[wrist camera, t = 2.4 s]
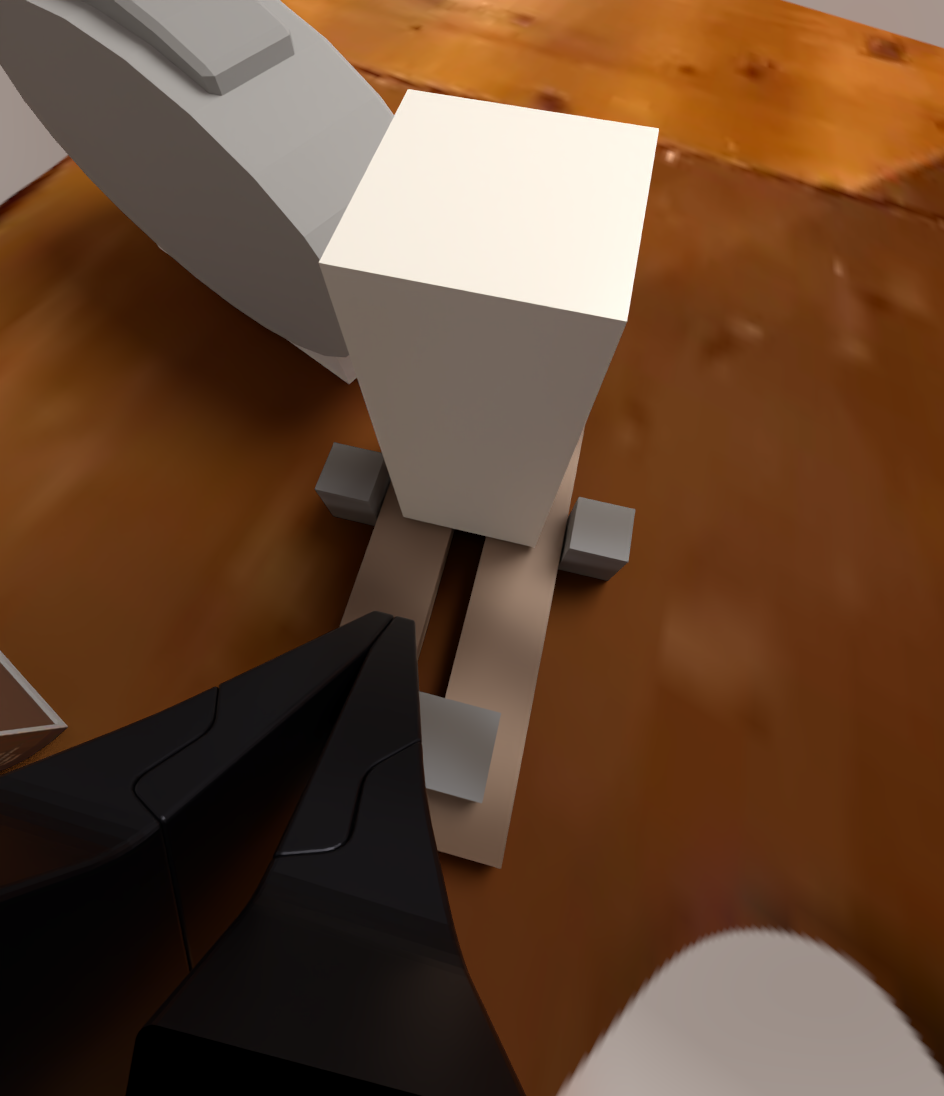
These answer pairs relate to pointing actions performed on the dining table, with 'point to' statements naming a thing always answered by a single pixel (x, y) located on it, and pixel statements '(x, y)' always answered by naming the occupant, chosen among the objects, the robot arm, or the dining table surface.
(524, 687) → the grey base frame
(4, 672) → the food container
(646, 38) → the dining table surface
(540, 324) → the block
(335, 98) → the alarm clock
